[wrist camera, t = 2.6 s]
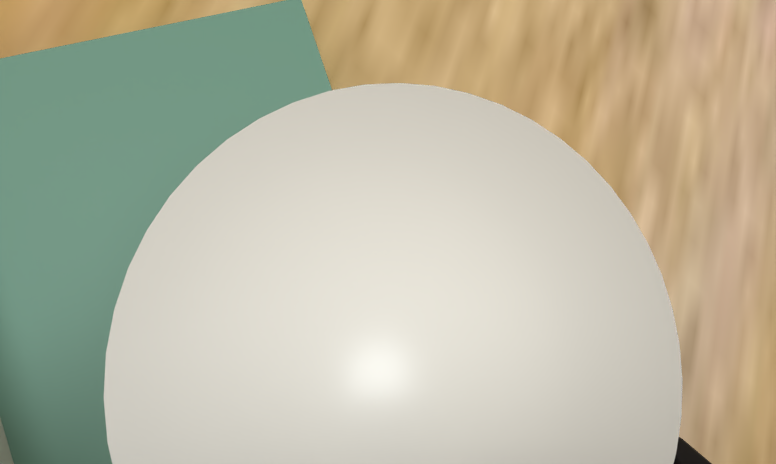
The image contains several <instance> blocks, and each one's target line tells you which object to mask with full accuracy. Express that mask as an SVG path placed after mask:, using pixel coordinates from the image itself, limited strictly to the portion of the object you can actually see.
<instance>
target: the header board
mask: <svg viewBox="0 0 776 464" xmlns="http://www.w3.org/2000/svg"><path fill="white" fill-rule="evenodd" d="M327 91H332V89H331V86H330V83H329V80H328V77H327V74H326V71H325V68H324V66H323V63H322V60H321V57H320V54H319V51H318V48H317V45H316V42H315V39H314V36H313V33H312V30H311V28H310V25H309V22H308V19H307V16H306V13H305V10H304V7H303V4H302V1H301V0H286V1H281V2H276V3H271V4H266V5H261V6H256V7H251V8H247V9H242V10H237V11H232V12H227V13H222V14H217V15H212V16H207V17H202V18H197V19H193V20H188V21H183V22H178V23H173V24H168V25H163V26H158V27H153V28H148V29H143V30H138V31H134V32H129V33H124V34H119V35H114V36H109V37H104V38H99V39H94V40H89V41H84V42H80V43H75V44H70V45H65V46H60V47H55V48H50V49H45V50H40V51H35V52H30V53H25V54H21V55H16V56H11V57H6V58H1V59H0V464H112V460H111V456H110V451H109V447H108V443H107V431H106V420H105V408H104V380H105V361H106V350H107V345H108V339H109V334H110V329H111V324H112V318H113V313H114V309H115V306H116V303H117V300H118V297H119V294H120V291H121V288H122V285H123V282H124V279H125V276H126V273H127V270H128V267H129V265H130V263H131V261H132V259H133V257H134V255H135V253H136V251H137V249H138V247H139V245H140V243H141V241H142V239H143V237H144V235H145V233H146V231H147V229H148V228H149V226H150V225H151V223H152V222H153V220H154V219H155V217H156V216H157V214H158V213H159V211H160V210H161V208H162V207H163V205H164V204H165V202H166V201H167V199H168V198H169V196H170V195H171V194H172V193H173V192H174V191H175V190H176V188H177V187H178V186H179V185H180V184H181V183H182V182H183V180H184V179H185V178H186V177H187V176H188V175H189V174H190V173H191V171H192V170H193V169H194V168H195V167H196V166H197V165H198V164H199V163H200V162H201V161H203V160H204V159H205V158H206V157H207V156H208V155H210V154H211V153H212V152H213V151H214V150H215V149H217V148H218V147H219V146H220V145H221V144H222V143H224V142H225V141H226V140H227V139H229V138H230V137H232V136H233V135H235V134H236V133H238V132H239V131H241V130H242V129H244V128H245V127H247V126H249V125H250V124H252V123H253V122H255V121H256V120H258V119H259V118H261V117H263V116H266V115H268V114H270V113H272V112H274V111H276V110H278V109H280V108H282V107H285V106H287V105H289V104H291V103H293V102H296V101H299V100H302V99H305V98H308V97H312V96H315V95H318V94H321V93H324V92H327Z"/></svg>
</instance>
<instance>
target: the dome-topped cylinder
mask: <svg viewBox="0 0 776 464" xmlns="http://www.w3.org/2000/svg"><path fill="white" fill-rule="evenodd" d="M104 408H105V420H106V431H107V443H108V447H109V451H110V456H111V460H112V464H673V463H674V460H675V456H676V451H677V444H678V437H679V430H680V423H681V412H682V369H681V357H680V345H679V339H678V334H677V329H676V324H675V319H674V314H673V309H672V306H671V302H670V299H669V296H668V293H667V290H666V287H665V283H664V280H663V277H662V274H661V272H660V270H659V267H658V265H657V263H656V261H655V258H654V256H653V254H652V251H651V249H650V247H649V245H648V243H647V241H646V239H645V237H644V236H643V234H642V232H641V231H640V229H639V227H638V225H637V224H636V222H635V220H634V219H633V217H632V215H631V213H630V212H629V211H628V209H627V208H626V207H625V205H624V204H623V203H622V201H621V200H620V199H619V197H618V196H617V195H616V193H615V192H614V190H613V189H612V188H611V186H610V185H609V184H608V183H607V182H606V181H605V180H604V179H603V178H602V177H601V176H600V175H599V174H598V172H597V171H596V170H595V169H594V168H593V167H592V166H591V165H590V164H589V163H588V162H587V161H586V160H585V159H584V158H583V157H582V156H580V155H579V154H578V153H577V152H576V151H574V150H573V149H572V148H571V147H570V146H568V145H567V144H566V143H565V142H564V141H563V140H561V139H560V138H559V137H557V136H556V135H554V134H553V133H551V132H549V131H548V130H546V129H545V128H543V127H542V126H540V125H539V124H537V123H536V122H534V121H533V120H531V119H529V118H527V117H525V116H523V115H521V114H519V113H517V112H515V111H513V110H511V109H509V108H507V107H505V106H503V105H501V104H498V103H495V102H492V101H489V100H486V99H484V98H481V97H478V96H475V95H472V94H469V93H465V92H461V91H456V90H451V89H447V88H442V87H437V86H429V85H417V84H405V83H389V84H368V85H359V86H354V87H348V88H343V89H337V90H332V91H327V92H324V93H321V94H318V95H315V96H312V97H308V98H305V99H302V100H299V101H296V102H293V103H291V104H289V105H287V106H285V107H282V108H280V109H278V110H276V111H274V112H272V113H270V114H268V115H266V116H263V117H261V118H259V119H258V120H256V121H255V122H253V123H252V124H250V125H249V126H247V127H245V128H244V129H242V130H241V131H239V132H238V133H236V134H235V135H233V136H232V137H230V138H229V139H227V140H226V141H225V142H224V143H222V144H221V145H220V146H219V147H218V148H217V149H215V150H214V151H213V152H212V153H211V154H210V155H208V156H207V157H206V158H205V159H204V160H203V161H201V162H200V163H199V164H198V165H197V166H196V167H195V168H194V169H193V170H192V171H191V173H190V174H189V175H188V176H187V177H186V178H185V179H184V180H183V182H182V183H181V184H180V185H179V186H178V187H177V188H176V190H175V191H174V192H173V193H172V194H171V195H170V196H169V198H168V199H167V201H166V202H165V204H164V205H163V207H162V208H161V210H160V211H159V213H158V214H157V216H156V217H155V219H154V220H153V222H152V223H151V225H150V226H149V228H148V229H147V231H146V233H145V235H144V237H143V239H142V241H141V243H140V245H139V247H138V249H137V251H136V253H135V255H134V257H133V259H132V261H131V263H130V265H129V267H128V270H127V273H126V276H125V279H124V282H123V285H122V288H121V291H120V294H119V297H118V300H117V303H116V306H115V309H114V313H113V318H112V324H111V329H110V334H109V339H108V345H107V350H106V361H105V380H104Z"/></svg>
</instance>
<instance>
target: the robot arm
mask: <svg viewBox="0 0 776 464" xmlns="http://www.w3.org/2000/svg"><path fill="white" fill-rule="evenodd" d="M673 464H711V463H710V462H709V461H708V460H707V459H706V458H704V457H703V456H702V455H701V454H700V453H698V452H697V451H696V450H695V449H694V448H692V447H691V446H690V445H689V444H688V443H686V442H685V441H684V440H683V439H681V438H680V437H678V444H677V451H676V456H675V460H674V463H673Z"/></svg>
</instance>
